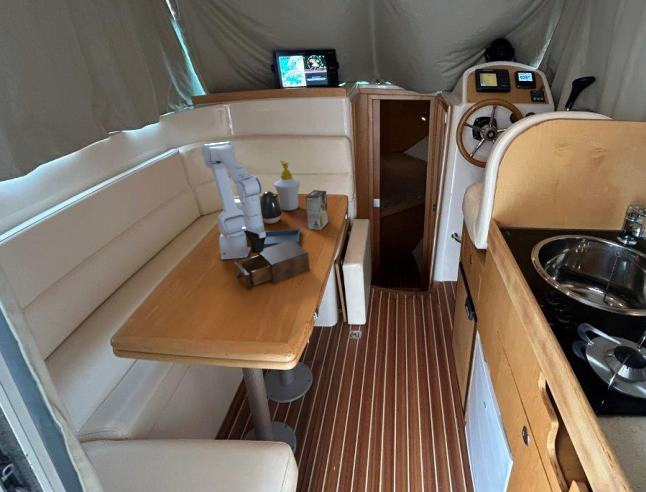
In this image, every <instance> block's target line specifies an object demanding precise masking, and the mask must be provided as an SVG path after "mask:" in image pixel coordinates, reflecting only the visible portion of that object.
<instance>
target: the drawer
mask: <svg viewBox="0 0 646 492" xmlns="http://www.w3.org/2000/svg"><path fill="white" fill-rule="evenodd" d="M233 267H234V273H235V277H236V279H237V280H238V281H240V283H241V284H242V285H243V287H244V288H245V289H246V290H247V291H249V290H252V285H253V287H254V286H257V285H260V284H263V283H265V282H269V281H271V279H273V278H272V270H271V265H270V264H269V263H268V262H267V261H266V260H265V259H264V258H263V257H262V256H261V255H258V254H257V255H253V256H250V257H246V258H243V259H242V260H241V263H240V261H238V260H233ZM251 284H252V285H251Z"/></svg>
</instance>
